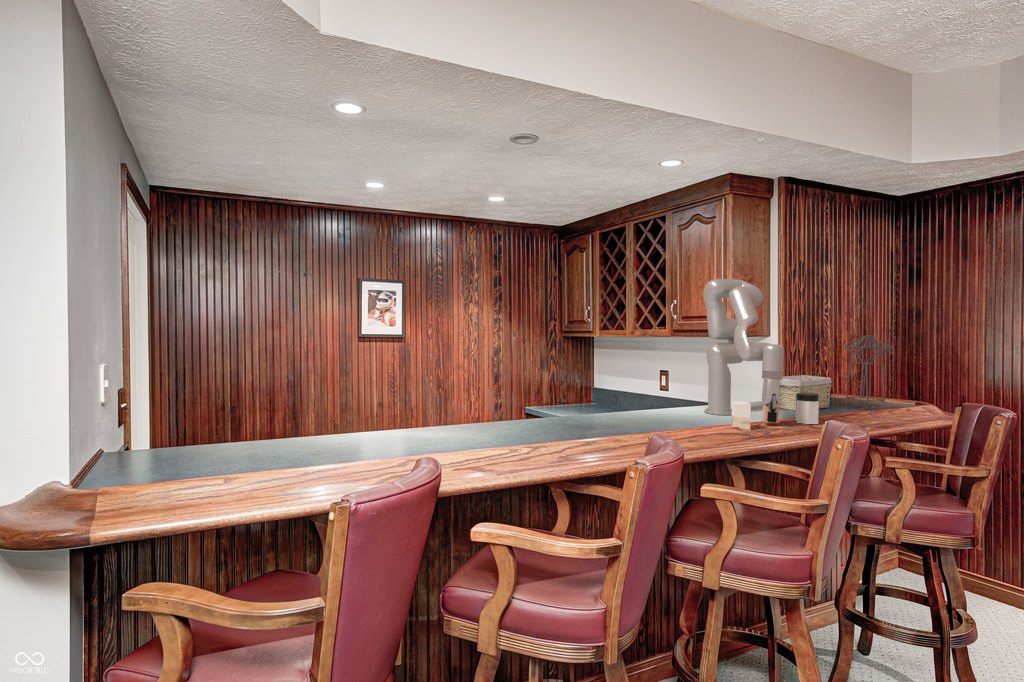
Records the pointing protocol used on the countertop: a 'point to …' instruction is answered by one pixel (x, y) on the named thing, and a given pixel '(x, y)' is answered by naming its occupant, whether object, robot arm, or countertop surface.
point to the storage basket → (803, 390)
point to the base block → (741, 422)
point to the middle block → (741, 409)
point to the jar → (807, 408)
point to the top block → (765, 414)
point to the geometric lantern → (866, 368)
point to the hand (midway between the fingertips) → (770, 420)
